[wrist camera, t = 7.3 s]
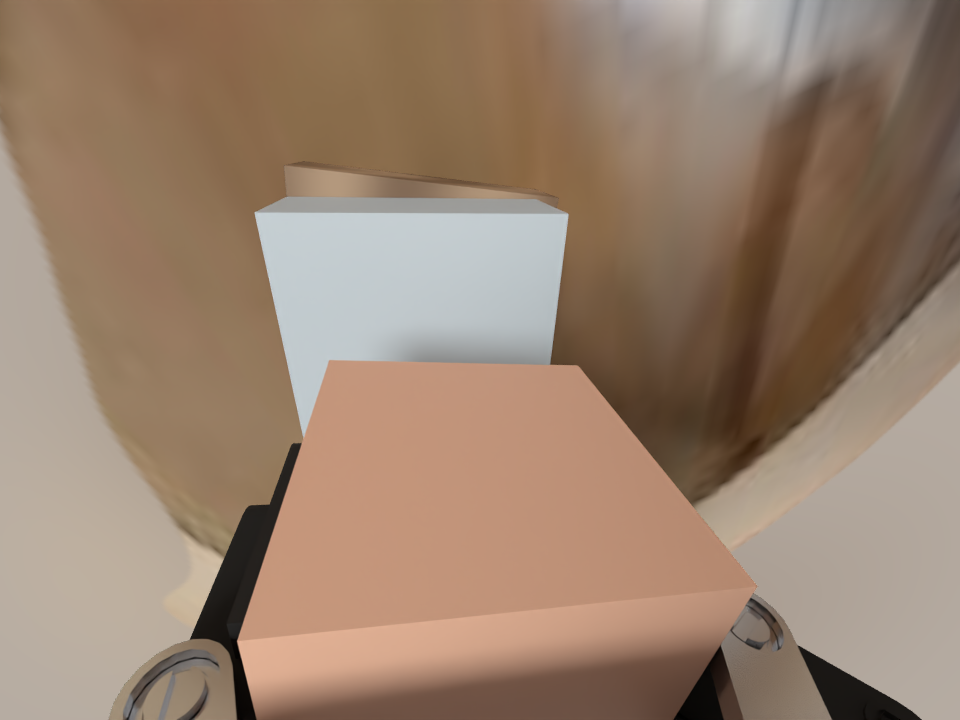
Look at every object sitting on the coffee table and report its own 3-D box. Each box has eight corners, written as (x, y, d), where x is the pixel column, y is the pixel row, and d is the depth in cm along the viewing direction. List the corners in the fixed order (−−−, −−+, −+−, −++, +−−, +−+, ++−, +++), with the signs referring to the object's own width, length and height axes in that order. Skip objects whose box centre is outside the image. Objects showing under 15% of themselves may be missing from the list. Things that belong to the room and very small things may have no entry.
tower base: (533, 188, 21) (558, 197, 18) (502, 374, 26) (517, 410, 23) (305, 160, 19) (283, 165, 16) (318, 369, 24) (304, 408, 20)
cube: (577, 365, 10) (758, 586, 5) (536, 532, 13) (628, 789, 8) (329, 360, 9) (236, 641, 4) (339, 544, 12) (291, 860, 7)
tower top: (535, 199, 18) (568, 214, 14) (519, 396, 22) (540, 444, 19) (287, 196, 16) (254, 212, 12) (325, 409, 21) (309, 464, 17)
